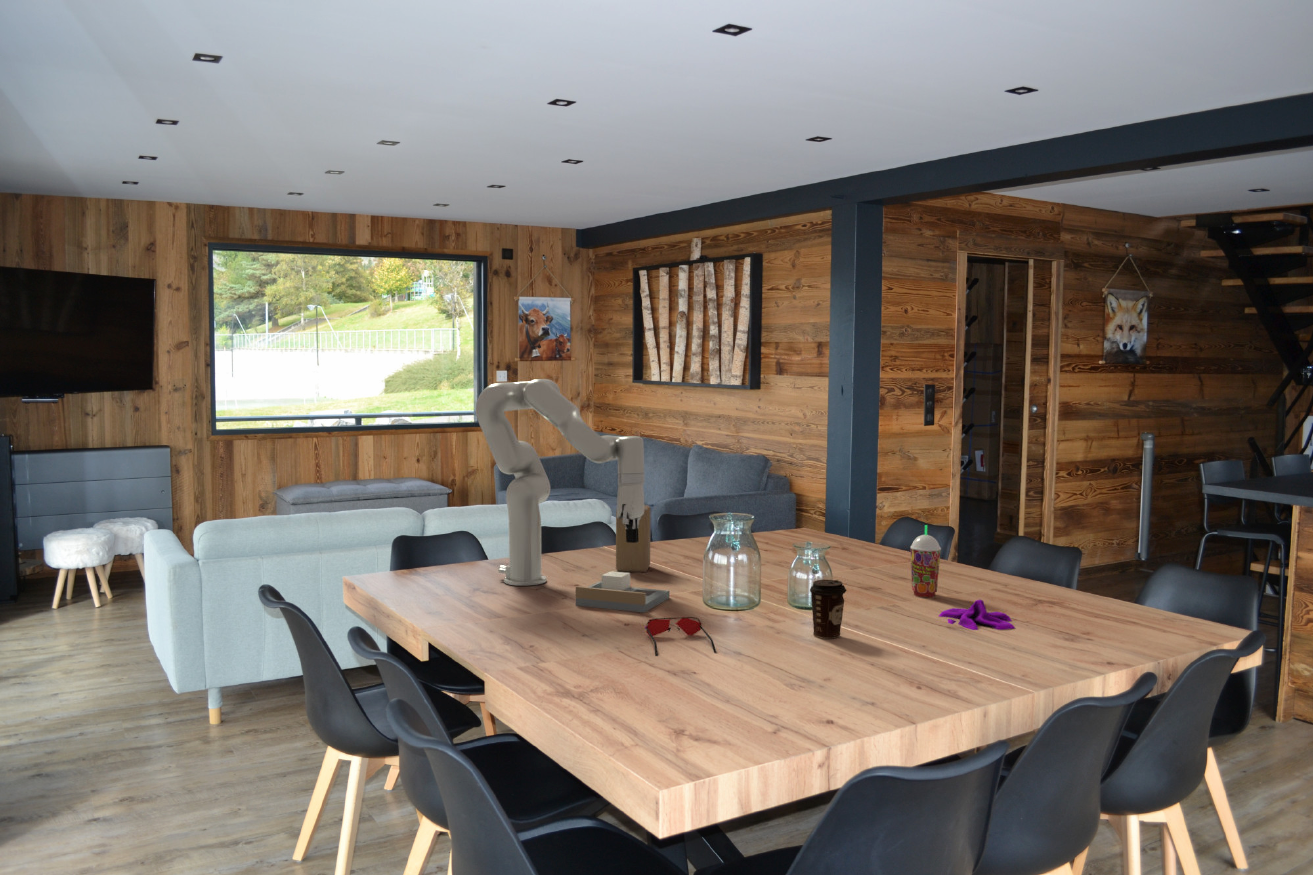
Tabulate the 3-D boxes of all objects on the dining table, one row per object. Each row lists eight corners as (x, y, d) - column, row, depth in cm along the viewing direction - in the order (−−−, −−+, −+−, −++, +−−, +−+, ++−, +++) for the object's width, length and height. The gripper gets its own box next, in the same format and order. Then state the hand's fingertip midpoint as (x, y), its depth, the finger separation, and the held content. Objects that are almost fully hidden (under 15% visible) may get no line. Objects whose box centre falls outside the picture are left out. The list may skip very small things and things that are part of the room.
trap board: (575, 605, 264) (575, 586, 264) (604, 591, 281) (604, 574, 281) (644, 612, 257) (644, 593, 256) (669, 597, 273) (669, 580, 273)
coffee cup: (848, 633, 238) (849, 580, 237) (843, 641, 230) (844, 587, 229) (812, 629, 241) (813, 577, 240) (806, 638, 233) (806, 584, 232)
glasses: (701, 635, 237) (701, 614, 236) (716, 655, 220) (717, 633, 220) (644, 637, 234) (644, 617, 234) (655, 657, 218) (655, 635, 218)
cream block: (601, 589, 274) (601, 575, 274) (610, 585, 280) (610, 571, 280) (621, 591, 272) (621, 577, 272) (630, 586, 278) (630, 572, 277)
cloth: (935, 611, 262) (935, 588, 262) (1008, 615, 258) (1009, 592, 258) (941, 633, 240) (942, 608, 240) (1022, 637, 236) (1022, 612, 236)
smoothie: (907, 596, 276) (908, 526, 275) (911, 590, 284) (912, 522, 282) (937, 599, 273) (939, 528, 271) (941, 593, 281) (943, 524, 279)
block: (650, 566, 317) (650, 504, 315) (647, 572, 307) (647, 509, 305) (619, 565, 318) (619, 504, 316) (615, 572, 308) (615, 508, 306)
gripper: (629, 476, 292) (630, 537, 293) (608, 481, 278) (609, 545, 279) (653, 476, 289) (654, 538, 290) (632, 482, 275) (633, 547, 276)
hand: (632, 541), depth 284 cm, fingers closed
